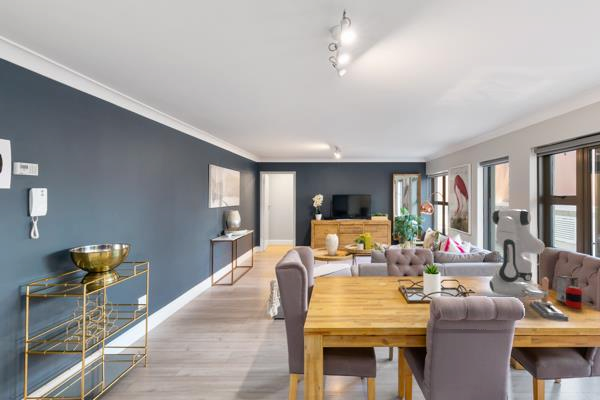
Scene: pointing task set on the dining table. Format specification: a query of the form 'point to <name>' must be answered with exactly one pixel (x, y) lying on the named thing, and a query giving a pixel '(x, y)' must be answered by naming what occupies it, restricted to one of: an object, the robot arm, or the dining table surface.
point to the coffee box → (565, 286)
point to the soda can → (573, 297)
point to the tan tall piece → (545, 299)
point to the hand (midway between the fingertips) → (546, 291)
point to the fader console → (548, 311)
